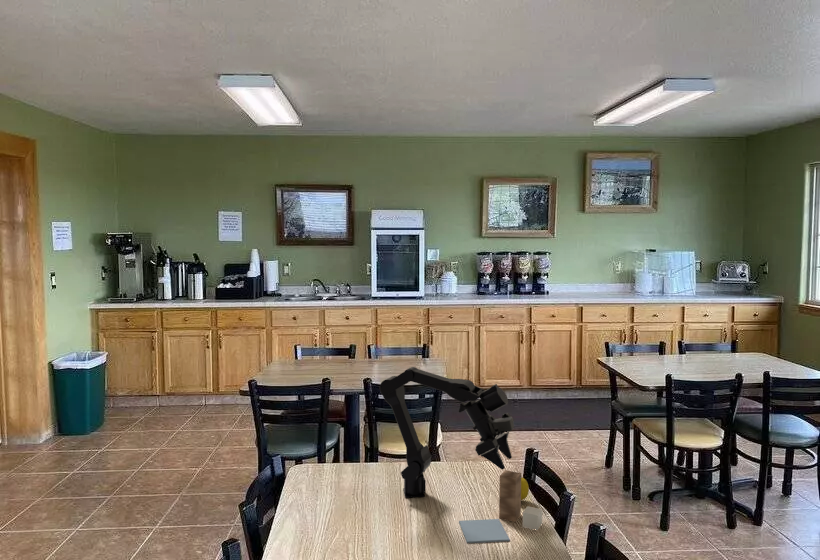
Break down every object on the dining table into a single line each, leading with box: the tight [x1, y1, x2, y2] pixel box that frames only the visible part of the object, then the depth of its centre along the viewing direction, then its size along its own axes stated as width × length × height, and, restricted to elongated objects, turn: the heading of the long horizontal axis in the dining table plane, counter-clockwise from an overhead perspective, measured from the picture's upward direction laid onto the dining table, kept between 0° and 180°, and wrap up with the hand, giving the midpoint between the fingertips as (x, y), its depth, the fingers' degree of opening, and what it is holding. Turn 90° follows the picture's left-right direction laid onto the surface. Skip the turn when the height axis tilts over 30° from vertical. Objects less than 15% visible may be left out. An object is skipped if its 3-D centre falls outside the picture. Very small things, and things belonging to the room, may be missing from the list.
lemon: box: [521, 476, 530, 501], centre depth 183 cm, size 6×6×8 cm
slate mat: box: [458, 518, 511, 544], centre depth 164 cm, size 12×12×1 cm
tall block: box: [498, 469, 522, 523], centre depth 173 cm, size 5×5×13 cm
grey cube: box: [522, 505, 543, 531], centre depth 167 cm, size 4×4×4 cm
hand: (507, 463), depth 176 cm, fingers open, 9 cm apart
